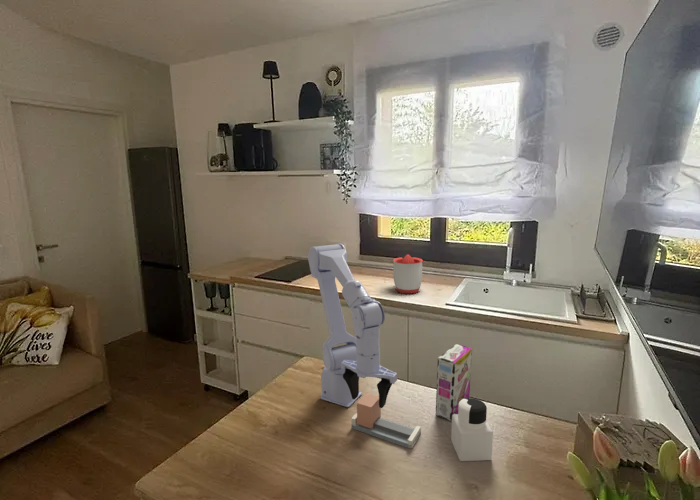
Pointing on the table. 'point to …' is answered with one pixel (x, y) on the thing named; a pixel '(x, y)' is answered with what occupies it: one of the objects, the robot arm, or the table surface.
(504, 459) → the table surface
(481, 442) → the medicine bottle
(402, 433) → the rail
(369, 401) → the pink rectangular block
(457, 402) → the candy bar box
